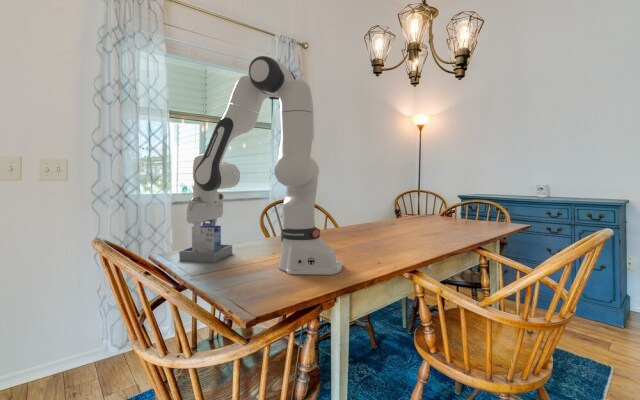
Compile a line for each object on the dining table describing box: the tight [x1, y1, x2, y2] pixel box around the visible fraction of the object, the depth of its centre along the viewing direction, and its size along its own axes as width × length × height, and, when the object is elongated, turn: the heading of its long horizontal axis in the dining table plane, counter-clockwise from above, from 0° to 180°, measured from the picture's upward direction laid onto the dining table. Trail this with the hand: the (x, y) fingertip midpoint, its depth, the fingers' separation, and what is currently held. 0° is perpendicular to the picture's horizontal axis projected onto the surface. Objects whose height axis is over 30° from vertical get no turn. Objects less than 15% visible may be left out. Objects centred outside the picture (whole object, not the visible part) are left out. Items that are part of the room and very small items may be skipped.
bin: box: [178, 243, 233, 264], centre depth 130 cm, size 14×14×4 cm
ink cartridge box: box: [191, 220, 222, 253], centre depth 130 cm, size 10×6×14 cm, turn 78°
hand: (206, 231), depth 130 cm, fingers open, 8 cm apart
